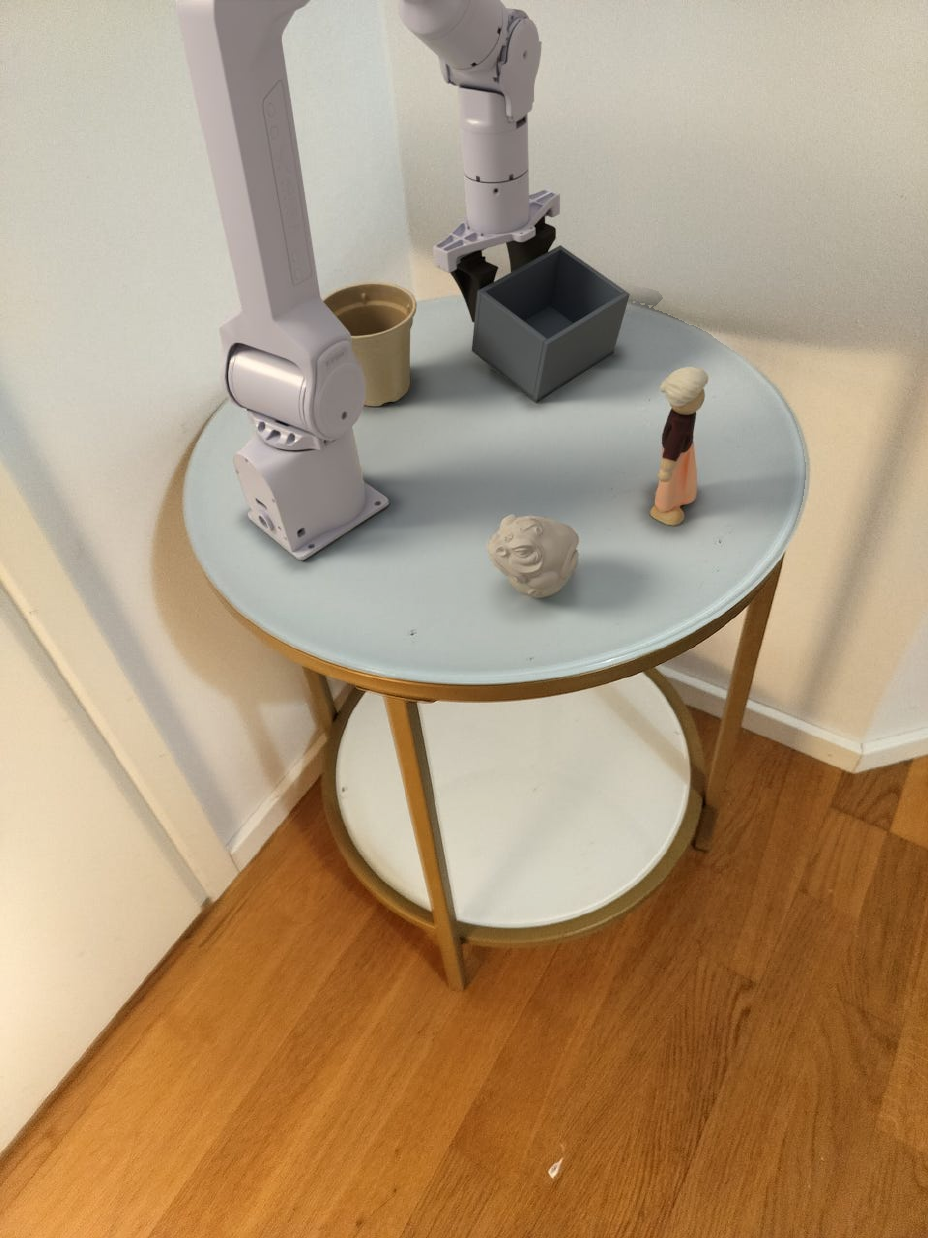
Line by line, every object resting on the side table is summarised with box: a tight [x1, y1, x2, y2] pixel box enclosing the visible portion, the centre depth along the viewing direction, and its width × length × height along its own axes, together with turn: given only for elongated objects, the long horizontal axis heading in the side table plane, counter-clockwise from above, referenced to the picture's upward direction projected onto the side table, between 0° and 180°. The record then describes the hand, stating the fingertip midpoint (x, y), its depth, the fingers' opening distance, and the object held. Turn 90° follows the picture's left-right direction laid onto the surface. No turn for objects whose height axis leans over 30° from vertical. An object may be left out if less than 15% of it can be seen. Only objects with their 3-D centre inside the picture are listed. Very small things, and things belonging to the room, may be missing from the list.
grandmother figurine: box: [649, 366, 709, 527], centre depth 66 cm, size 8×4×13 cm, turn 171°
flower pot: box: [321, 281, 418, 407], centre depth 82 cm, size 9×9×9 cm
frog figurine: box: [486, 513, 580, 599], centre depth 64 cm, size 6×7×7 cm
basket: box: [471, 244, 630, 404], centre depth 83 cm, size 11×12×7 cm
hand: (502, 310), depth 86 cm, fingers closed on basket, 5 cm apart
